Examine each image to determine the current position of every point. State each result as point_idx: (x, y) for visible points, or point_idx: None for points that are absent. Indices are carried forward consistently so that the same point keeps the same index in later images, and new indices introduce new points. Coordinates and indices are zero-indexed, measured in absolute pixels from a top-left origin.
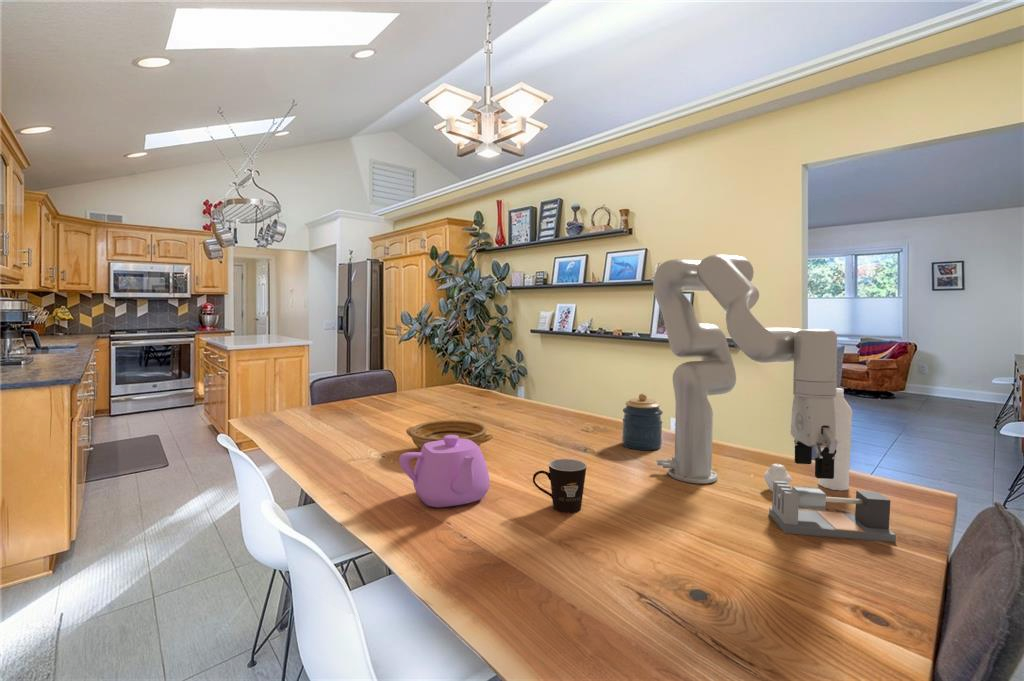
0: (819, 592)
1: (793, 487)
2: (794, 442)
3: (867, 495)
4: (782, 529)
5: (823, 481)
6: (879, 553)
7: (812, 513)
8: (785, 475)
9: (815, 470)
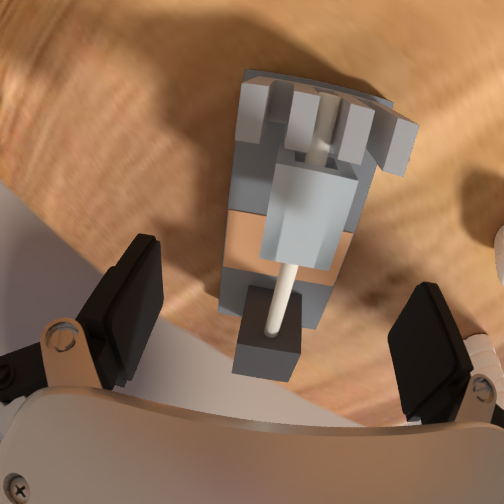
0: (16, 55)
1: (346, 177)
2: (490, 381)
3: (263, 355)
4: (267, 71)
5: (478, 343)
6: (164, 240)
7: None
8: None
9: (129, 255)
